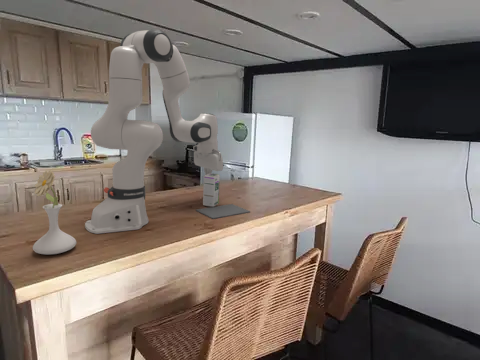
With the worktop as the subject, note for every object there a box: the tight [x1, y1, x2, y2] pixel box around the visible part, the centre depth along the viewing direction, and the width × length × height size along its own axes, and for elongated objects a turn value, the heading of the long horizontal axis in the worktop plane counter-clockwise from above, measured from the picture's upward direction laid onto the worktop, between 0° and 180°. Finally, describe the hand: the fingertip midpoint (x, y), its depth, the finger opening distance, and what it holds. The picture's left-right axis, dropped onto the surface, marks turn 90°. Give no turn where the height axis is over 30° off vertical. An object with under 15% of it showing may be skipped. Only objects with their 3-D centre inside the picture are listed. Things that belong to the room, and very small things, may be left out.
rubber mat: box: [195, 203, 251, 220], centre depth 143 cm, size 20×14×1 cm
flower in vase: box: [32, 169, 77, 255], centre depth 93 cm, size 13×11×25 cm
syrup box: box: [202, 173, 221, 207], centre depth 149 cm, size 6×6×14 cm
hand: (208, 177), depth 153 cm, fingers closed
